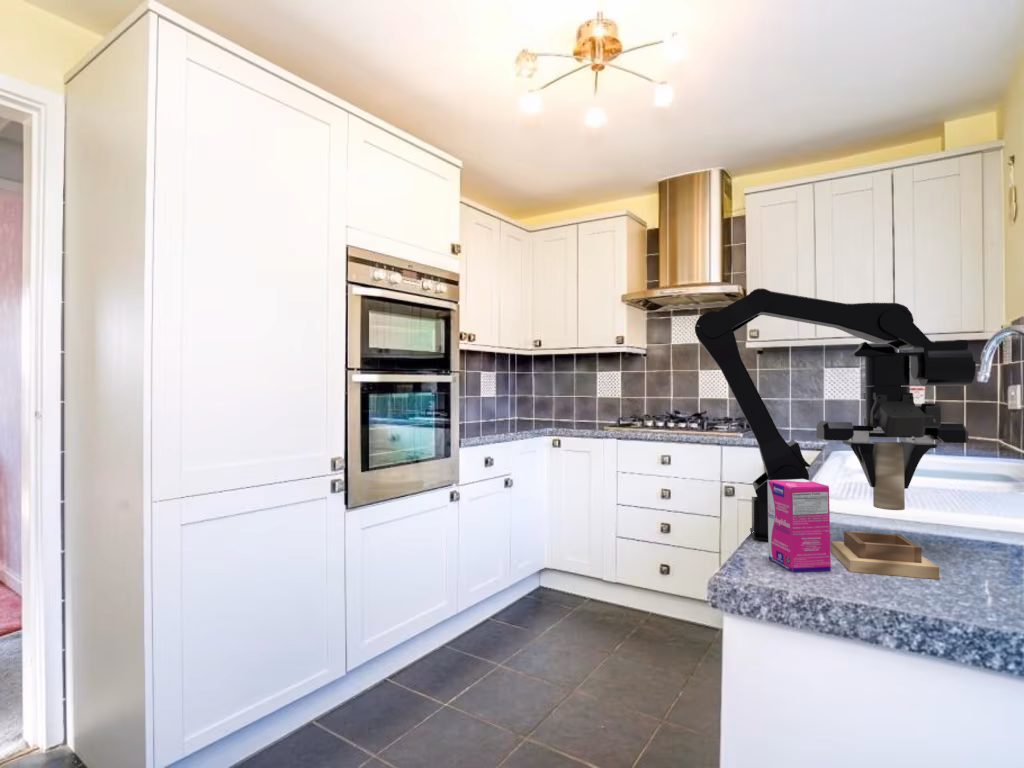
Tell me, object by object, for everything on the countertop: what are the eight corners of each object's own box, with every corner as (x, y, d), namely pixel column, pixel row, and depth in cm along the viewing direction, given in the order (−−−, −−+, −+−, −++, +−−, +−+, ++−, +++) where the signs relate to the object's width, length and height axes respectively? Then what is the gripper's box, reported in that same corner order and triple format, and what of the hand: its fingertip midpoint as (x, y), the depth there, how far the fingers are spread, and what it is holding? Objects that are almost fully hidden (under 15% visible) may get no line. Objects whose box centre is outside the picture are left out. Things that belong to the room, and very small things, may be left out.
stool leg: (878, 509, 84) (877, 443, 84) (869, 504, 88) (869, 441, 88) (909, 510, 83) (908, 443, 83) (899, 505, 86) (898, 441, 87)
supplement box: (766, 559, 79) (766, 479, 79) (806, 558, 79) (805, 478, 79) (790, 572, 73) (789, 485, 73) (832, 571, 74) (832, 485, 74)
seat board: (850, 571, 73) (849, 545, 74) (830, 551, 83) (830, 527, 83) (939, 579, 70) (938, 551, 71) (908, 557, 80) (908, 532, 80)
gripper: (832, 386, 81) (834, 493, 80) (987, 385, 75) (989, 500, 75) (815, 386, 91) (816, 481, 91) (949, 386, 86) (951, 487, 85)
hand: (888, 487), depth 85 cm, fingers closed on stool leg, 4 cm apart
